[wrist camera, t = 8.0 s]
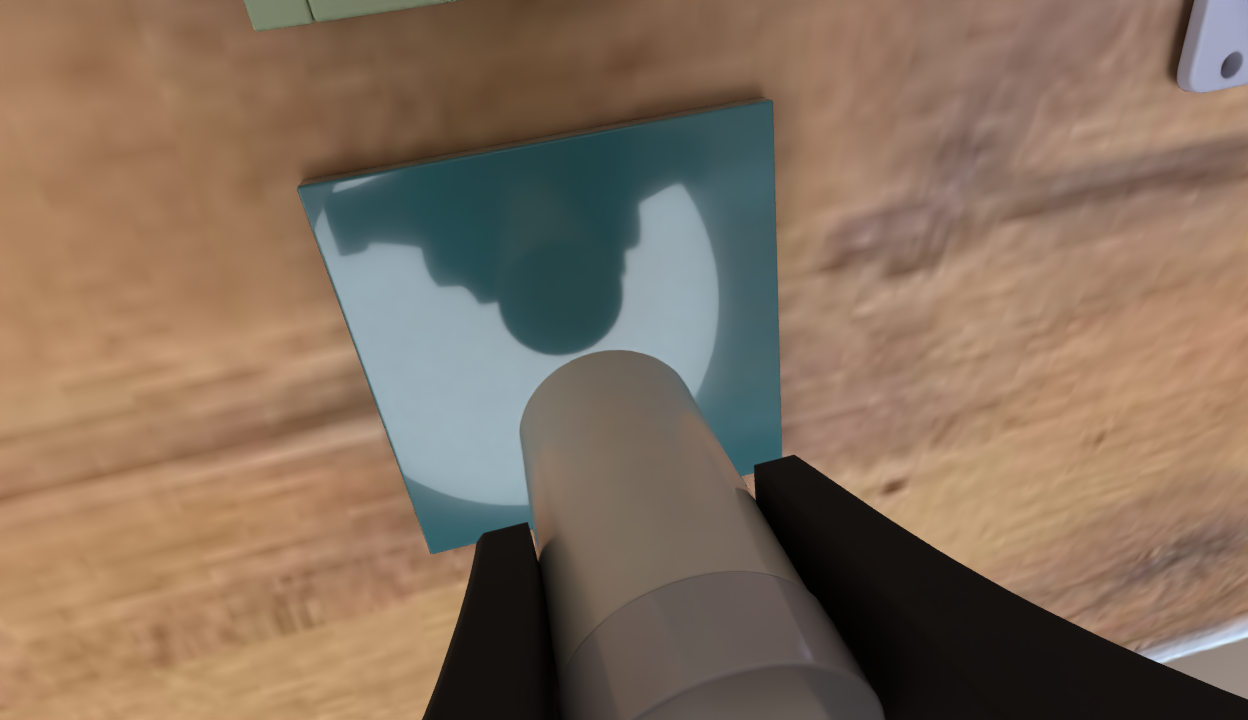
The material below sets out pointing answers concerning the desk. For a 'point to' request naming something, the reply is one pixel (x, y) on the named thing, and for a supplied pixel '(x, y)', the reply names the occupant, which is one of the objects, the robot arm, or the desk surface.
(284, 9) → the spice rack
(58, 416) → the desk surface
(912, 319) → the desk surface
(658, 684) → the shaker
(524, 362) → the coaster
